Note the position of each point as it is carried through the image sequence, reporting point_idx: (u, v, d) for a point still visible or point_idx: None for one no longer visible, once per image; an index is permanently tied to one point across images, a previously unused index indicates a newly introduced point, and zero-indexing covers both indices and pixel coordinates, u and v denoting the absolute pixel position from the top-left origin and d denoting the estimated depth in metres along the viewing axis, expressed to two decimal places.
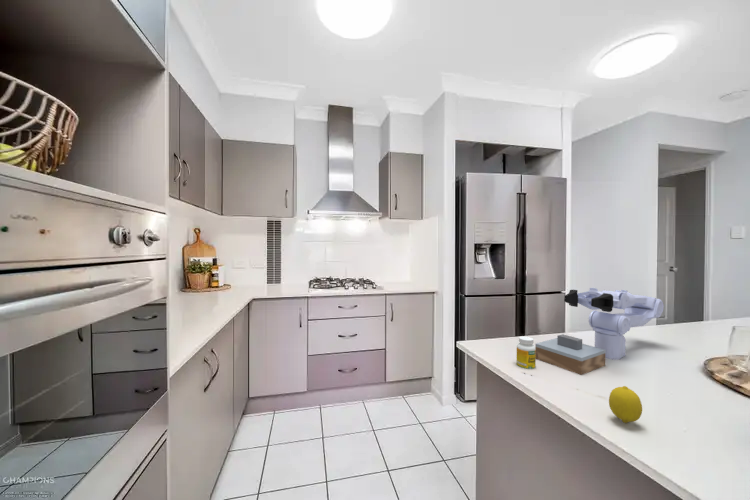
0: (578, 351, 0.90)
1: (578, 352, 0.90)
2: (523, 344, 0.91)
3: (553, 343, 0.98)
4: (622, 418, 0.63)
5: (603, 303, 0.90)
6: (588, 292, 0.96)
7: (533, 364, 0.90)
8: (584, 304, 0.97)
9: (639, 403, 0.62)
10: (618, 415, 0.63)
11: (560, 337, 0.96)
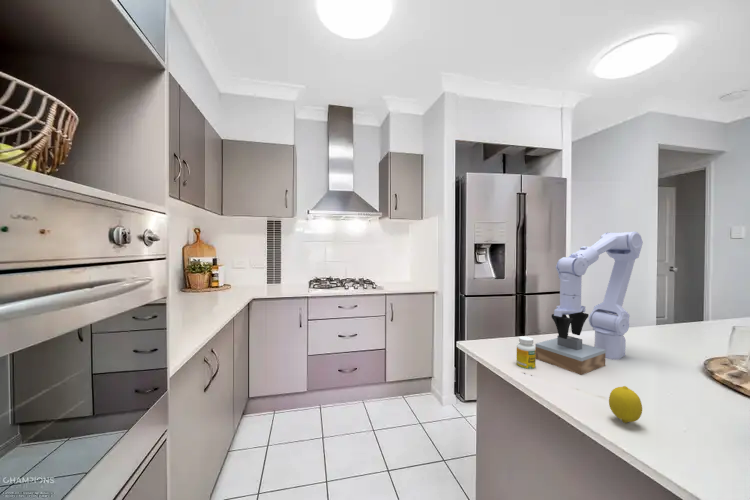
0: (578, 351, 0.90)
1: (578, 352, 0.90)
2: (523, 344, 0.91)
3: (553, 343, 0.98)
4: (622, 418, 0.63)
5: (563, 320, 0.92)
6: None
7: (533, 364, 0.90)
8: None
9: (639, 403, 0.62)
10: (618, 415, 0.63)
11: None
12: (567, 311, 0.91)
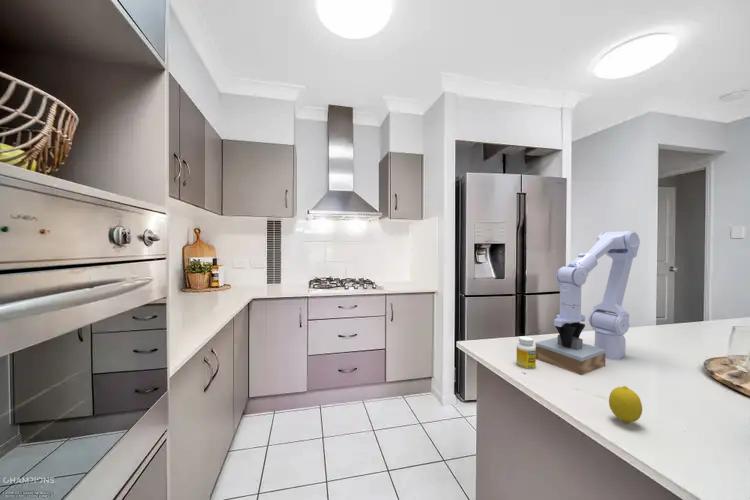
0: (578, 351, 0.90)
1: (578, 352, 0.89)
2: (523, 344, 0.91)
3: (553, 342, 0.98)
4: (622, 418, 0.63)
5: (566, 329, 0.93)
6: None
7: (533, 364, 0.90)
8: None
9: (639, 403, 0.62)
10: (618, 415, 0.63)
11: None
12: (567, 321, 0.91)
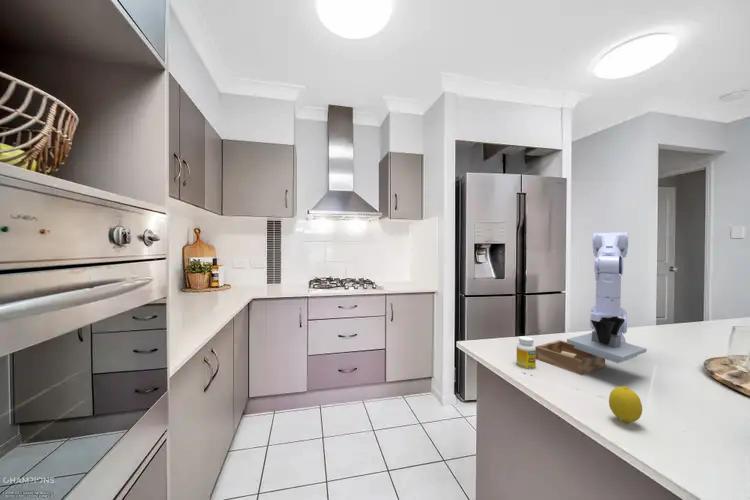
0: (616, 349, 0.82)
1: (617, 350, 0.81)
2: (523, 344, 0.91)
3: (587, 339, 0.90)
4: (622, 418, 0.63)
5: (604, 324, 0.85)
6: None
7: (533, 364, 0.90)
8: None
9: (639, 403, 0.62)
10: (618, 415, 0.63)
11: (595, 333, 0.87)
12: (605, 315, 0.82)
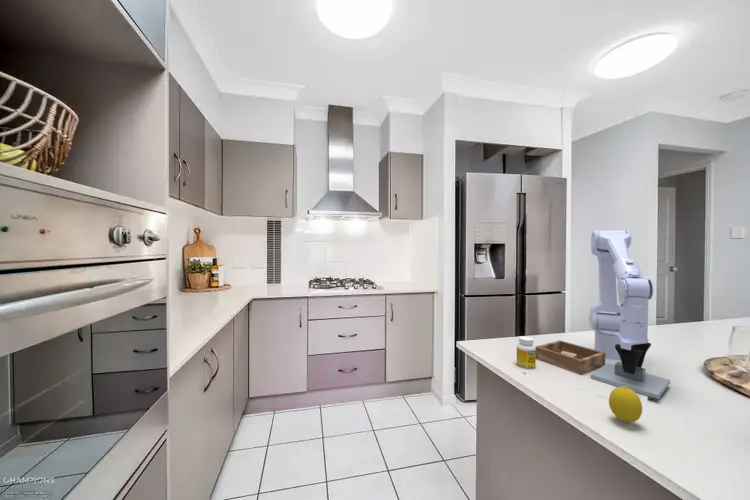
0: (645, 384, 0.77)
1: (646, 386, 0.76)
2: (523, 344, 0.91)
3: (609, 372, 0.84)
4: (622, 418, 0.63)
5: (630, 353, 0.79)
6: None
7: (533, 364, 0.90)
8: None
9: (639, 403, 0.62)
10: (618, 415, 0.63)
11: (618, 366, 0.82)
12: (636, 343, 0.77)
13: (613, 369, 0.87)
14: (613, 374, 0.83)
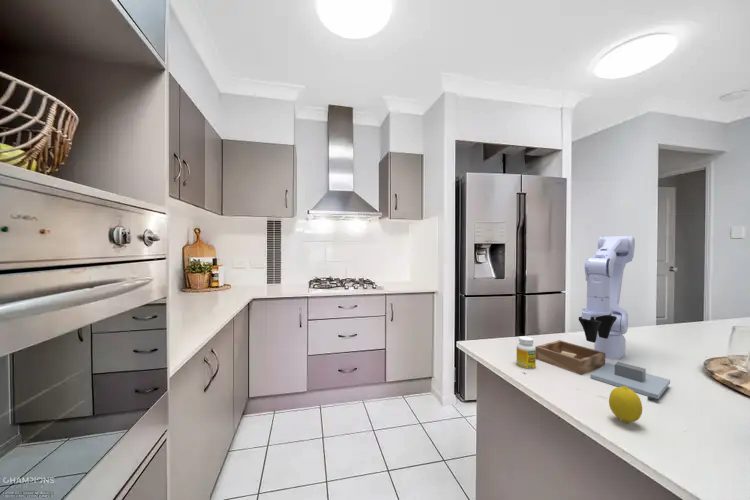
0: (645, 384, 0.77)
1: (646, 386, 0.76)
2: (523, 344, 0.91)
3: (609, 372, 0.84)
4: (622, 418, 0.63)
5: (591, 323, 0.89)
6: None
7: (533, 364, 0.90)
8: None
9: (639, 403, 0.62)
10: (618, 415, 0.63)
11: (618, 366, 0.82)
12: (596, 314, 0.88)
13: (613, 369, 0.87)
14: (613, 374, 0.83)
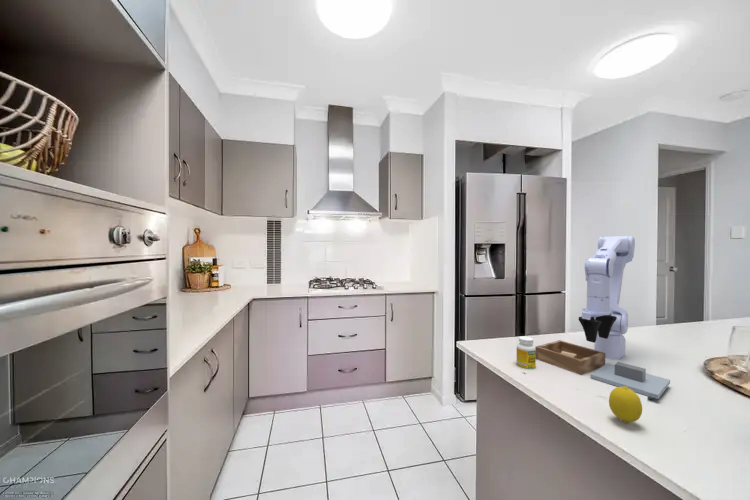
0: (645, 384, 0.77)
1: (646, 386, 0.76)
2: (523, 344, 0.91)
3: (609, 372, 0.84)
4: (622, 418, 0.63)
5: (591, 323, 0.89)
6: None
7: (533, 364, 0.90)
8: None
9: (639, 403, 0.62)
10: (618, 415, 0.63)
11: (618, 366, 0.82)
12: (596, 314, 0.88)
13: (613, 369, 0.87)
14: (613, 374, 0.83)
